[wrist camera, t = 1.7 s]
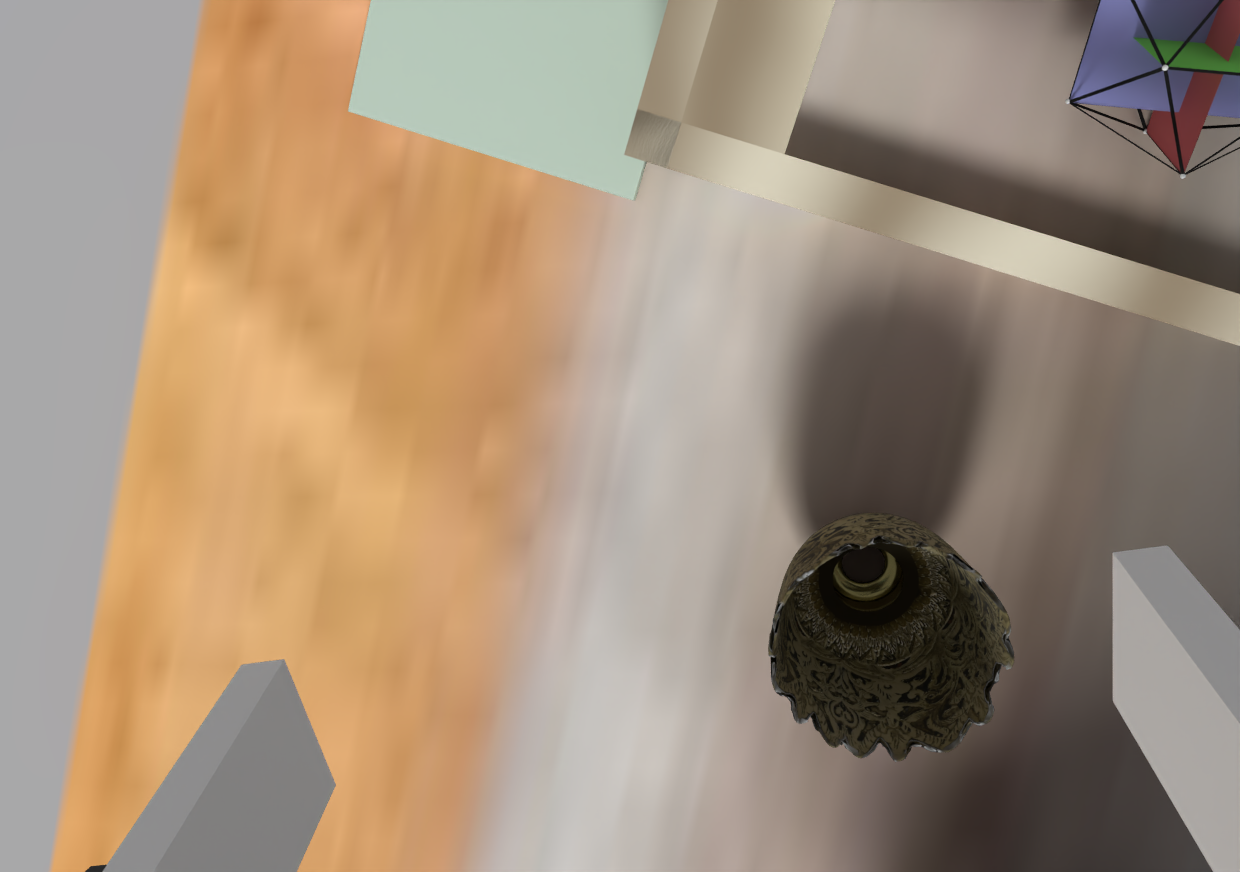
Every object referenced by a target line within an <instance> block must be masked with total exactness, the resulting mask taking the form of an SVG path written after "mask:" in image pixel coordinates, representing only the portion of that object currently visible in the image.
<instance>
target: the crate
mask: <svg viewBox="0 0 1240 872" xmlns="http://www.w3.org/2000/svg"><path fill="white" fill-rule="evenodd" d="M834 3H835V0H668V3H667V7H666V10H665V14H664V17H663V21H662V24H661V28H660V31H659V35H658V38H657V42H656V45H655V49H654V52H653V56H652V59H651V63H650V66H649V70H648V73H647V77H646V80H645V84H644V87H643V91H642V94H641V98H640V101H639V104H638V108H637V111H636V115H635V118H634V122H633V125H632V129H631V132H630V136H629V139H628V143H627V146H626V150H625V153H624V155H626V156H629V157H632V158H636V159H639V160H642V161H645V162H649V163H652V164H655V165H658V166H661V167H665V168H668V169H671V170H674V171H678V172H681V173H684V174H687V175H690V176H694V177H697V178H700V179H703V180H707V181H710V182H713V183H716V184H719V185H723V186H726V187H729V188H732V189H736V190H739V191H742V192H745V193H748V194H752V195H755V196H758V197H761V198H765V199H768V200H771V201H774V202H777V203H781V204H784V205H787V206H790V207H794V208H797V209H800V210H803V211H806V212H810V213H813V214H816V215H819V216H823V217H826V218H829V219H832V220H835V221H839V222H842V223H845V224H848V225H852V226H855V227H858V228H861V229H864V230H868V231H871V232H874V233H877V234H881V235H884V236H887V237H890V238H893V239H897V240H900V241H903V242H906V243H910V244H913V245H916V246H919V247H922V248H926V249H929V250H932V251H935V252H939V253H942V254H945V255H948V256H951V257H955V258H958V259H961V260H964V261H968V262H971V263H974V264H977V265H980V266H984V267H987V268H990V269H993V270H997V271H1000V272H1003V273H1006V274H1009V275H1013V276H1016V277H1019V278H1022V279H1026V280H1029V281H1032V282H1035V283H1038V284H1042V285H1045V286H1048V287H1051V288H1055V289H1058V290H1061V291H1064V292H1067V293H1071V294H1074V295H1077V296H1080V297H1084V298H1087V299H1090V300H1093V301H1096V302H1100V303H1103V304H1106V305H1109V306H1113V307H1116V308H1119V309H1122V310H1125V311H1129V312H1132V313H1135V314H1138V315H1142V316H1145V317H1148V318H1151V319H1154V320H1158V321H1161V322H1164V323H1167V324H1171V325H1174V326H1177V327H1180V328H1183V329H1187V330H1190V331H1193V332H1196V333H1200V334H1203V335H1206V336H1209V337H1212V338H1216V339H1219V340H1222V341H1225V342H1229V343H1232V344H1235V345H1238V346H1240V294H1238V293H1234V292H1231V291H1228V290H1225V289H1221V288H1218V287H1215V286H1212V285H1208V284H1205V283H1202V282H1199V281H1195V280H1192V279H1189V278H1186V277H1182V276H1179V275H1176V274H1173V273H1169V272H1166V271H1163V270H1160V269H1156V268H1153V267H1150V266H1147V265H1143V264H1140V263H1137V262H1134V261H1130V260H1127V259H1124V258H1121V257H1117V256H1114V255H1111V254H1108V253H1104V252H1101V251H1098V250H1095V249H1091V248H1088V247H1085V246H1082V245H1078V244H1075V243H1072V242H1069V241H1065V240H1062V239H1059V238H1056V237H1052V236H1049V235H1046V234H1043V233H1039V232H1036V231H1033V230H1029V229H1026V228H1023V227H1020V226H1016V225H1013V224H1010V223H1007V222H1003V221H1000V220H997V219H994V218H990V217H987V216H984V215H981V214H977V213H974V212H971V211H968V210H964V209H961V208H958V207H955V206H951V205H948V204H945V203H942V202H938V201H935V200H932V199H929V198H925V197H922V196H919V195H916V194H912V193H909V192H906V191H903V190H899V189H896V188H893V187H890V186H886V185H883V184H880V183H877V182H873V181H870V180H867V179H864V178H860V177H857V176H854V175H851V174H847V173H844V172H841V171H838V170H834V169H831V168H828V167H825V166H821V165H818V164H815V163H812V162H808V161H805V160H802V159H799V158H795V157H792V156H789V155H785V151H786V148H787V145H788V142H789V139H790V136H791V133H792V130H793V127H794V124H795V121H796V118H797V115H798V112H799V109H800V106H801V103H802V100H803V97H804V94H805V91H806V88H807V85H808V82H809V79H810V76H811V73H812V70H813V67H814V64H815V61H816V58H817V55H818V52H819V48H820V45H821V42H822V39H823V36H824V33H825V30H826V27H827V24H828V21H829V18H830V15H831V12H832V9H833V6H834Z"/></svg>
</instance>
